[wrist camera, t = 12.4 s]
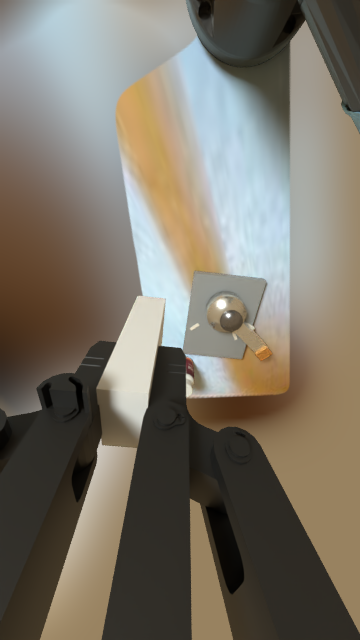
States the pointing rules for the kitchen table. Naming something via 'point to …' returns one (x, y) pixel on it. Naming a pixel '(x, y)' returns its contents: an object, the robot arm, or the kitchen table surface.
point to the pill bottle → (189, 376)
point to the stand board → (198, 329)
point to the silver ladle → (234, 321)
